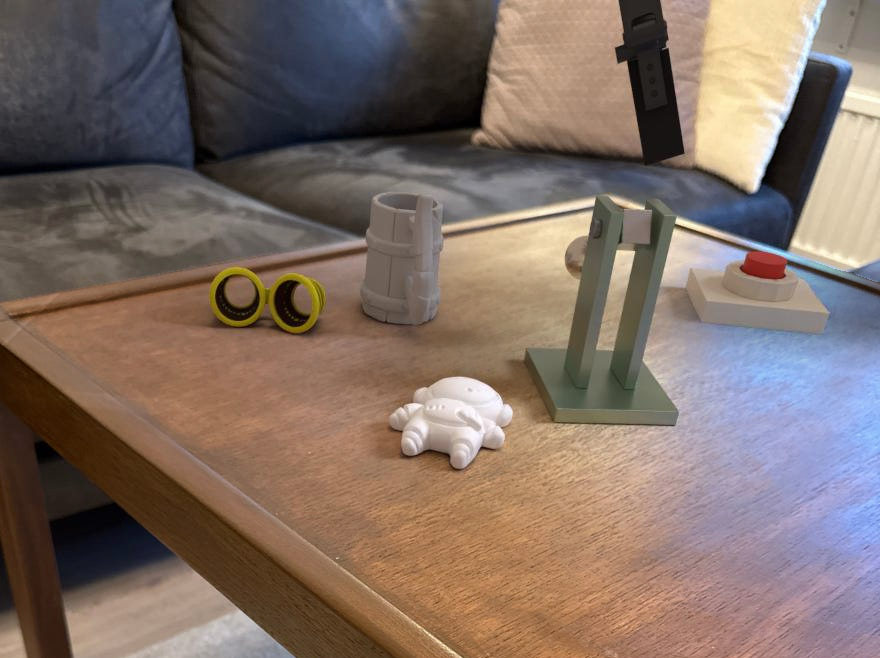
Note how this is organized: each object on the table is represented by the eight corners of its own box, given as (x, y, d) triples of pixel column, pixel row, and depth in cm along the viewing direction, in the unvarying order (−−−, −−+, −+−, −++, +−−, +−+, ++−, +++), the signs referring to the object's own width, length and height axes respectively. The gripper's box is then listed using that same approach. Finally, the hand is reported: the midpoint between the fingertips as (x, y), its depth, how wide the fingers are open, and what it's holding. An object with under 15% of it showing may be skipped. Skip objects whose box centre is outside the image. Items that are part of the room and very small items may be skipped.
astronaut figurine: (367, 447, 71) (369, 409, 69) (429, 388, 80) (432, 352, 78) (479, 478, 69) (485, 439, 67) (530, 413, 78) (537, 377, 76)
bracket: (523, 360, 86) (552, 180, 77) (633, 363, 87) (674, 186, 78) (554, 422, 77) (591, 226, 68) (676, 425, 78) (728, 233, 69)
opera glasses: (325, 327, 91) (328, 270, 88) (317, 337, 86) (320, 277, 84) (222, 316, 91) (222, 259, 89) (208, 325, 86) (208, 265, 84)
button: (776, 271, 100) (782, 253, 99) (786, 284, 97) (791, 266, 96) (737, 267, 100) (742, 249, 99) (745, 280, 97) (750, 262, 96)
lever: (558, 282, 87) (560, 239, 86) (597, 284, 87) (600, 241, 86) (612, 250, 73) (615, 199, 72) (658, 253, 73) (662, 201, 73)
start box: (797, 299, 105) (809, 261, 102) (821, 334, 97) (836, 294, 94) (685, 288, 105) (694, 250, 102) (700, 322, 97) (711, 282, 94)
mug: (427, 295, 97) (439, 164, 90) (460, 343, 88) (477, 202, 81) (351, 296, 95) (357, 162, 88) (378, 344, 86) (387, 201, 79)
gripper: (557, -148, 75) (612, 147, 85) (533, -214, 54) (609, 187, 64) (657, -190, 73) (701, 119, 83) (671, -275, 52) (728, 150, 62)
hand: (661, 149), depth 73 cm, fingers open, 13 cm apart
